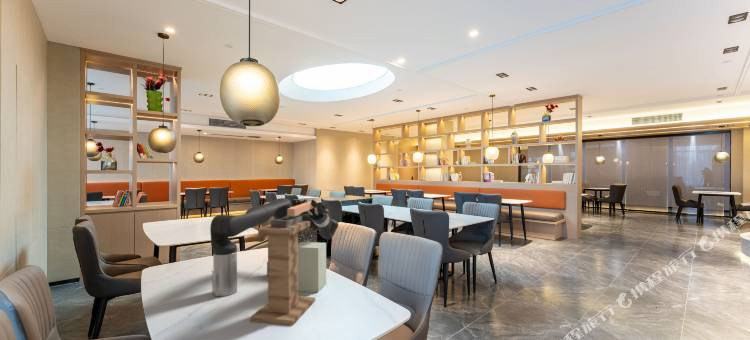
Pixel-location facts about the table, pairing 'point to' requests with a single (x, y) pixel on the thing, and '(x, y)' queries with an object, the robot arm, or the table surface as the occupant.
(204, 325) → the table surface
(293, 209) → the block
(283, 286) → the stand
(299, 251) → the pedestal
